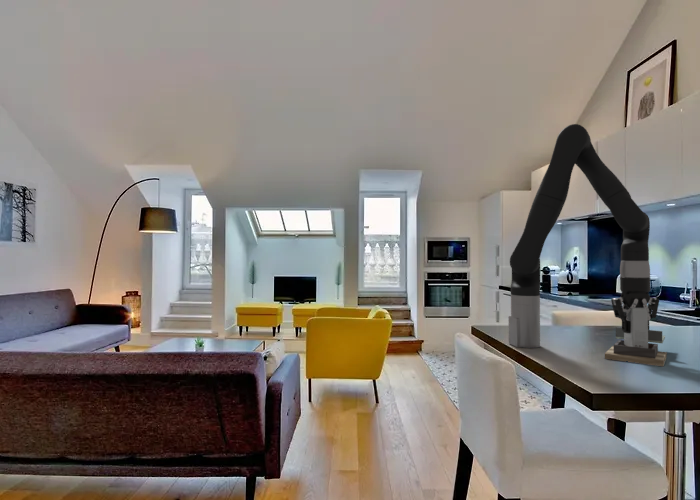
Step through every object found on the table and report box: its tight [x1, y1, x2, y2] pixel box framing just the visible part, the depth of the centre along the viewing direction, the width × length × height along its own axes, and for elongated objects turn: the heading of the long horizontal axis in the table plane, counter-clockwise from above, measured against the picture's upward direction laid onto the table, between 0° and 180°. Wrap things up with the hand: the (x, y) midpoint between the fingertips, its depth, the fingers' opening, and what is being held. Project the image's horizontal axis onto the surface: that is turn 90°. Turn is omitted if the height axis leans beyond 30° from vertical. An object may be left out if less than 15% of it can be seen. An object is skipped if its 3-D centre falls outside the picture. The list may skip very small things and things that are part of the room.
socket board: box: [604, 339, 668, 367], centre depth 126 cm, size 14×14×4 cm
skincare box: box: [623, 308, 649, 348], centre depth 126 cm, size 6×4×12 cm
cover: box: [615, 326, 666, 344], centre depth 135 cm, size 12×12×4 cm
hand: (635, 332), depth 126 cm, fingers closed on skincare box, 5 cm apart
